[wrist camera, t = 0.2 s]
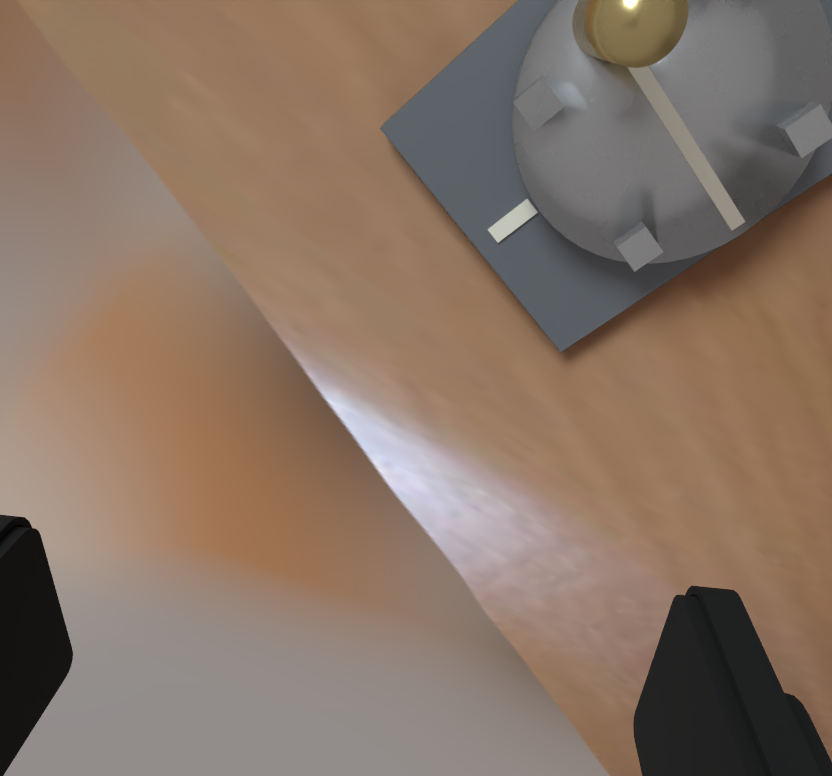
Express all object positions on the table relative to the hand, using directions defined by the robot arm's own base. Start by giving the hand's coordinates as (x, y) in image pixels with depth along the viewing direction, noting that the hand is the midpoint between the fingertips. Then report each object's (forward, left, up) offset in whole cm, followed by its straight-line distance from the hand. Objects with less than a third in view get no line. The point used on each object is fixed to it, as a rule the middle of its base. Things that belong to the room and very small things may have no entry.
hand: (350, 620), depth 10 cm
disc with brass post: (-11, +3, -28) cm, 31 cm away
